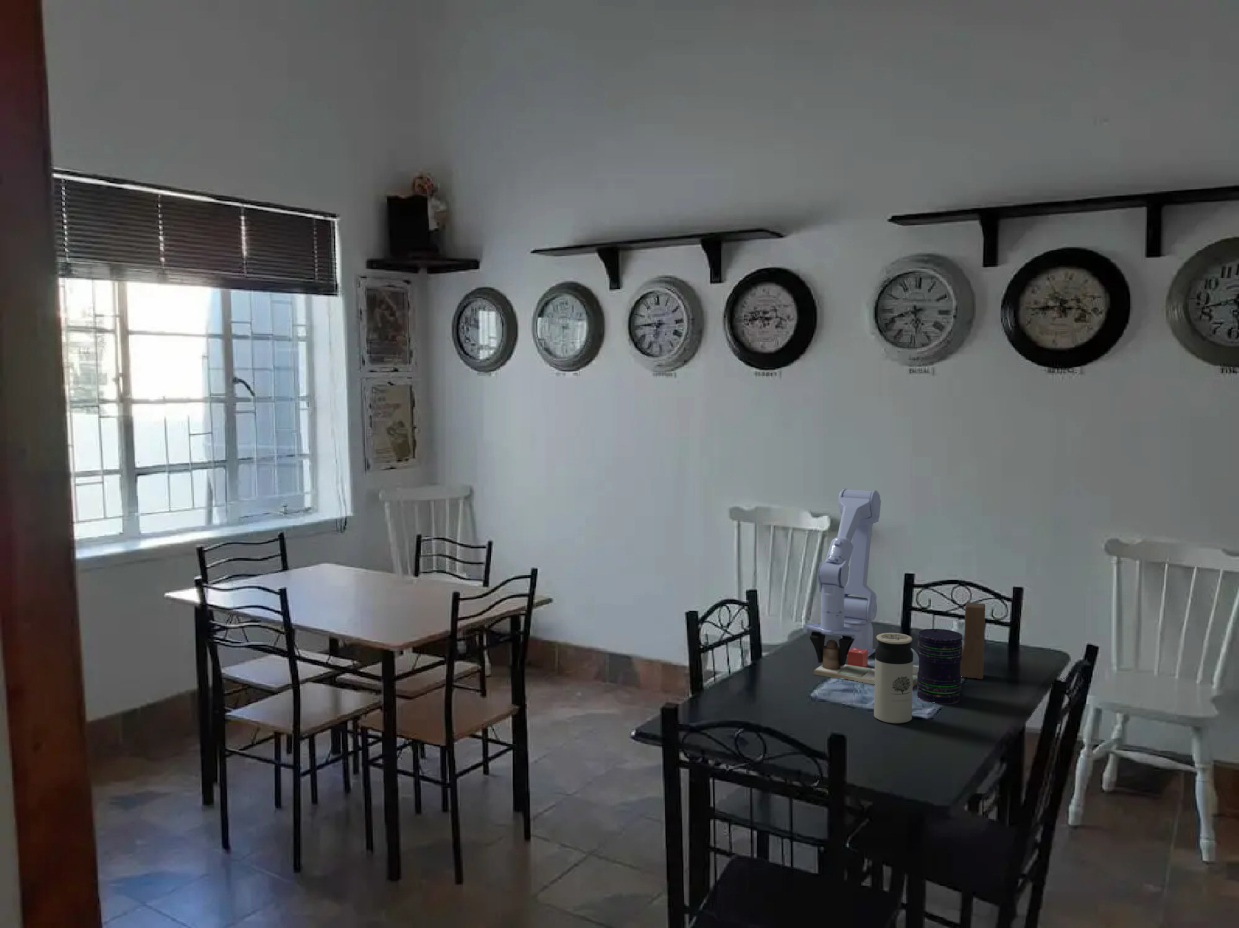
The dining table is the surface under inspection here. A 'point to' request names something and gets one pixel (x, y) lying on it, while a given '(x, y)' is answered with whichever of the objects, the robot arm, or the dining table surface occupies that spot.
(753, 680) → the dining table surface
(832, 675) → the track board
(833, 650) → the pawn
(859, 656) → the red die
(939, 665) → the storage jar
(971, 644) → the wooden block
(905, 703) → the travel mug
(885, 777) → the dining table surface
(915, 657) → the dome
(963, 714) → the dining table surface
